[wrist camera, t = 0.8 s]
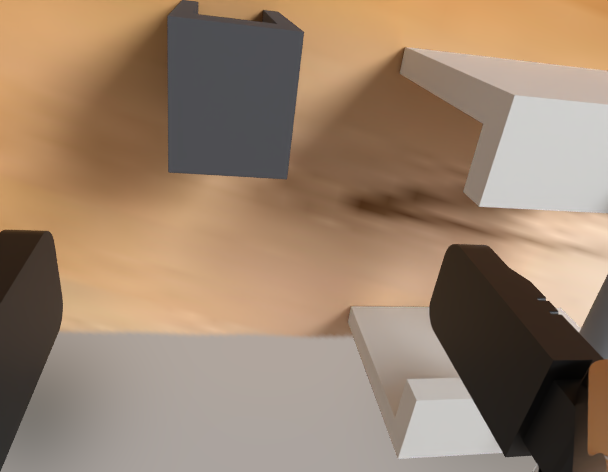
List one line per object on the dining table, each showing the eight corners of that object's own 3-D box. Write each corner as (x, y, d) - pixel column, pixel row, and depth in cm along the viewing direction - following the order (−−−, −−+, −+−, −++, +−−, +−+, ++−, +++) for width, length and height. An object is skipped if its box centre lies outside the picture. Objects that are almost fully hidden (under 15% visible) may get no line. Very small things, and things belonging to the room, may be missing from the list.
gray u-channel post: (182, -1, 25) (167, 15, 18) (278, 11, 26) (304, 32, 19) (181, 114, 28) (168, 172, 20) (268, 121, 29) (287, 179, 21)
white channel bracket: (405, 46, 28) (546, 109, 16) (665, 77, 32) (942, 147, 20) (347, 322, 38) (410, 492, 25) (554, 322, 41) (695, 471, 29)
